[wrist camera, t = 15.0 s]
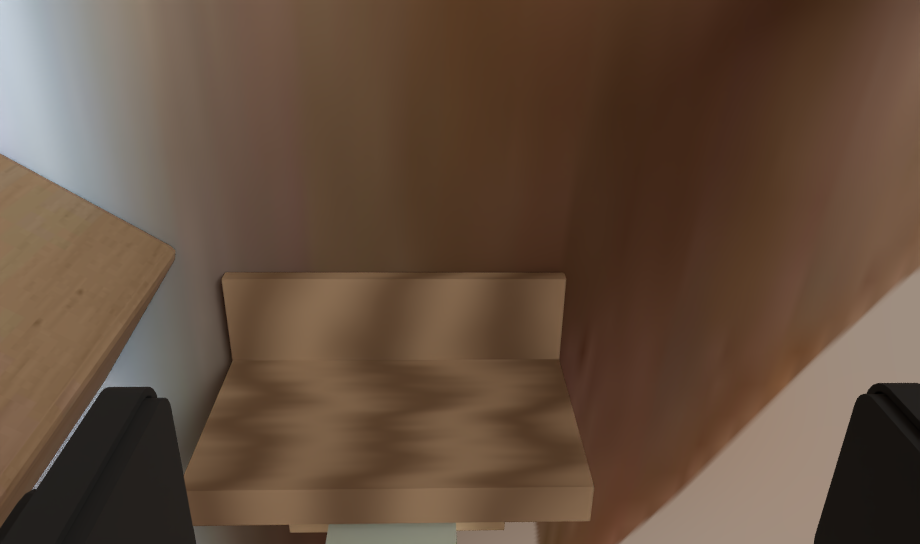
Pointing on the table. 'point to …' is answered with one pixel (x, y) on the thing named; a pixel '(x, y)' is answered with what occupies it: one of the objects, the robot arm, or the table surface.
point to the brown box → (391, 404)
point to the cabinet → (392, 533)
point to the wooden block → (60, 314)
